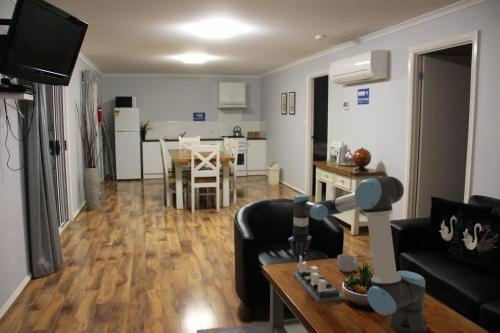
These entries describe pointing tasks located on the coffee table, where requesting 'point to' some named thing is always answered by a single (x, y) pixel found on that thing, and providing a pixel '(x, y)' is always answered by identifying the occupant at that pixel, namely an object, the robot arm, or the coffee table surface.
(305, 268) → the breaker handle
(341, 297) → the panel
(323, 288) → the breaker handle
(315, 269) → the breaker handle
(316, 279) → the breaker handle
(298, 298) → the coffee table surface
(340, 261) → the teacup
